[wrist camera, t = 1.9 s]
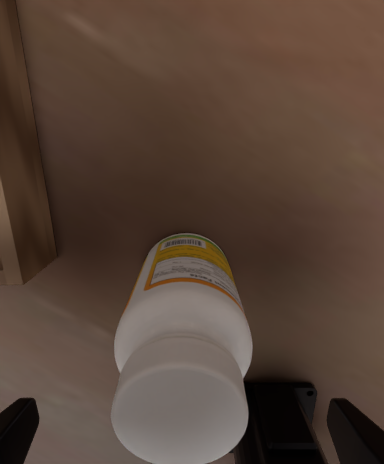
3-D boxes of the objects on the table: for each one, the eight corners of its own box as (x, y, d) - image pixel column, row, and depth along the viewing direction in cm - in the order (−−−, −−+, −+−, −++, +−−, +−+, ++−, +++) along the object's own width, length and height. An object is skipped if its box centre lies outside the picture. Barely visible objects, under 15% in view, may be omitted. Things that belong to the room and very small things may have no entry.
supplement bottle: (185, 322, 18) (179, 509, 9) (126, 270, 17) (45, 420, 8) (246, 272, 17) (313, 424, 8) (187, 212, 16) (180, 306, 6)
